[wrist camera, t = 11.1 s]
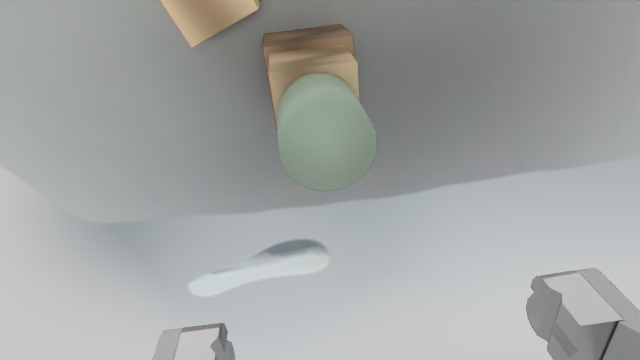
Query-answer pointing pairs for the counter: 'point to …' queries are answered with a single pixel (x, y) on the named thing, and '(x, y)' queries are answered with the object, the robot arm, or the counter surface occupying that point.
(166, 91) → the counter surface
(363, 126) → the sage green cylinder
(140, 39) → the counter surface
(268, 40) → the tower block base
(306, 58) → the tower block top
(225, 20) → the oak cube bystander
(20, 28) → the counter surface
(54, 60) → the counter surface
